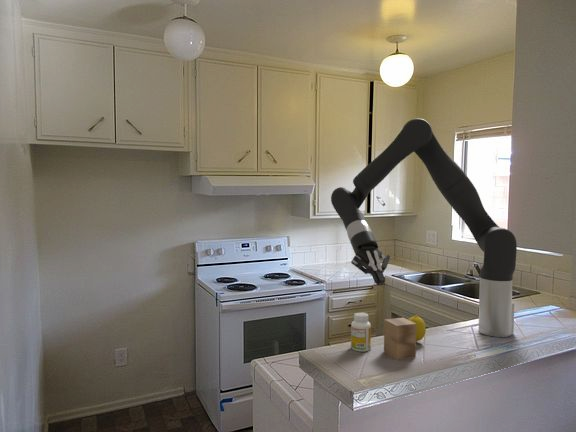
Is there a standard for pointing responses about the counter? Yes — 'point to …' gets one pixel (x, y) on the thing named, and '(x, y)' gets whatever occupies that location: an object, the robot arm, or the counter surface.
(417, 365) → the counter surface
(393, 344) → the brown wooden block
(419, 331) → the lemon
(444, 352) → the counter surface
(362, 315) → the supplement bottle
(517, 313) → the counter surface
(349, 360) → the counter surface
